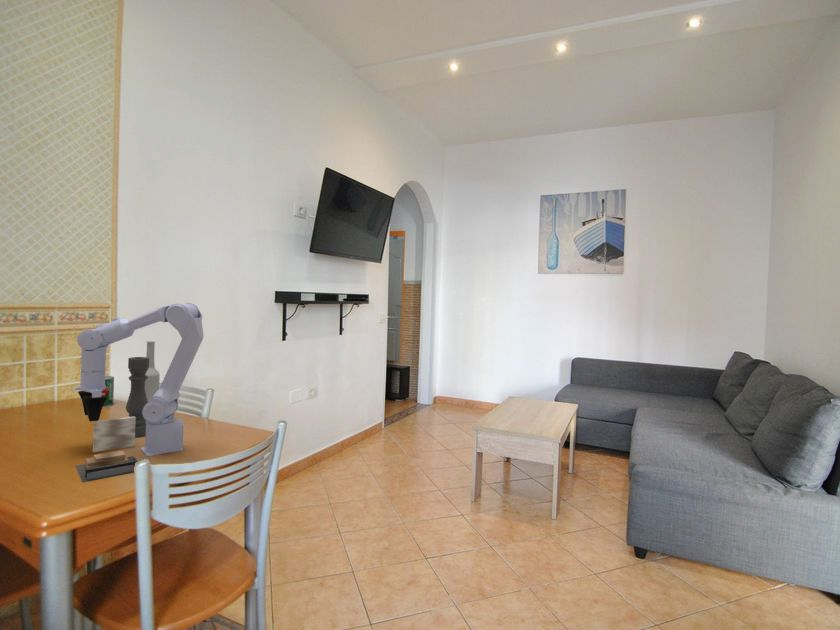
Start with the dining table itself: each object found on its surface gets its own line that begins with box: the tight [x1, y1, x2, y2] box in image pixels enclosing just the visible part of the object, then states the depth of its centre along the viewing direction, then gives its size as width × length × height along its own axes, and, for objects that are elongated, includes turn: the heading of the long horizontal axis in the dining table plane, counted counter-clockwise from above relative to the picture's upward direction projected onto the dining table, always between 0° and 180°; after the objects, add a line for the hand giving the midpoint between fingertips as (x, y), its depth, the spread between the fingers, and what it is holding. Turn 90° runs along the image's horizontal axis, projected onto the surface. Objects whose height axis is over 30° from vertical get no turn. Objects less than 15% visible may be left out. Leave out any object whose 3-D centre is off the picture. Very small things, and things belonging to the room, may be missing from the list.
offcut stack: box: [84, 450, 129, 469], centre depth 120 cm, size 9×5×2 cm, turn 134°
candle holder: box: [125, 356, 149, 439], centre depth 144 cm, size 6×6×25 cm
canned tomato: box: [101, 375, 115, 408], centre depth 178 cm, size 8×8×11 cm
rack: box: [74, 455, 138, 484], centre depth 117 cm, size 13×13×2 cm
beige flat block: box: [92, 416, 136, 453], centre depth 131 cm, size 10×2×9 cm, turn 134°
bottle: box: [145, 340, 161, 403], centre depth 165 cm, size 7×7×28 cm
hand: (91, 417), depth 130 cm, fingers open, 7 cm apart
